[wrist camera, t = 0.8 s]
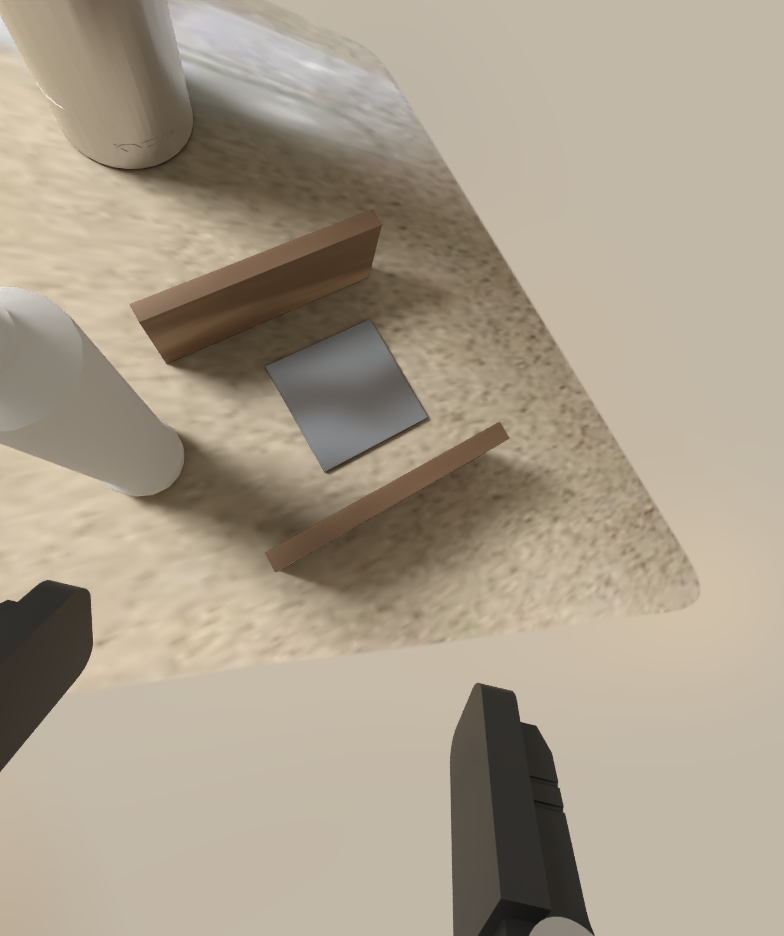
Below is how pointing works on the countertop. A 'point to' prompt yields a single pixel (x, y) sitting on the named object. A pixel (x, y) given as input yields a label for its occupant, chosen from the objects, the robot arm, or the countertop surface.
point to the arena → (313, 363)
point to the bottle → (76, 402)
